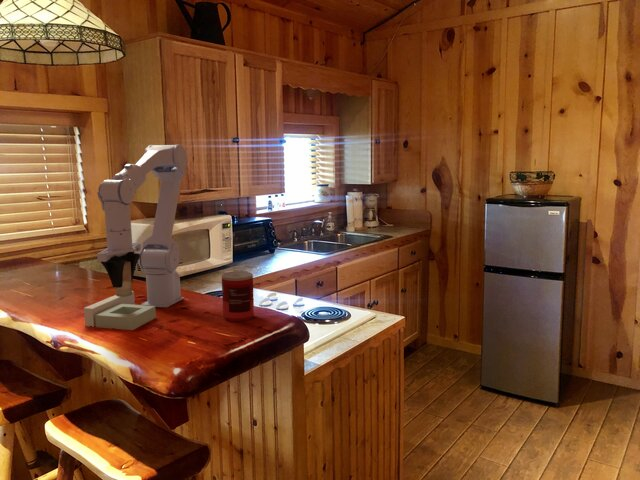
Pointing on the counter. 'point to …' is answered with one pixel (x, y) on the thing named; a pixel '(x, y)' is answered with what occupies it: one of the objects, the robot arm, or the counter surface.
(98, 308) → the wall board
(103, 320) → the socket block
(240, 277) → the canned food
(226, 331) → the counter surface
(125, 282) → the dowel
